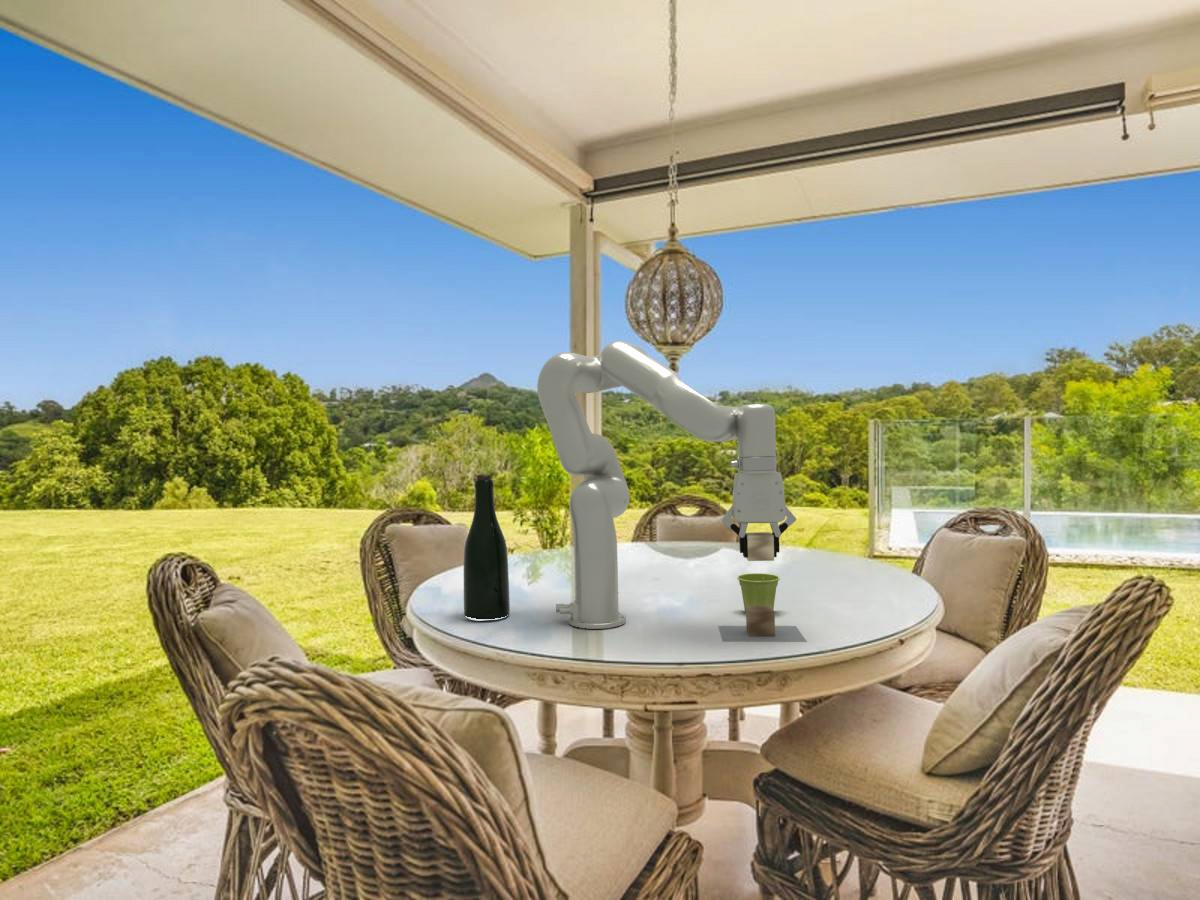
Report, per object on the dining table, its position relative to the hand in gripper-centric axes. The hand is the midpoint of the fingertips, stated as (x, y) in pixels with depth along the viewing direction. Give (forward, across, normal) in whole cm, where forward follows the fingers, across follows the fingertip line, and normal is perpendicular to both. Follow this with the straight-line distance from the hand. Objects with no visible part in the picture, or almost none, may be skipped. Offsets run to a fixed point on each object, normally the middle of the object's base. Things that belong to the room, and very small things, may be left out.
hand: (759, 555), depth 145 cm
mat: (+16, 0, 0) cm, 16 cm away
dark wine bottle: (+16, -60, +16) cm, 64 cm away
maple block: (+1, 0, 0) cm, 1 cm away
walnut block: (+16, 0, 0) cm, 16 cm away
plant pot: (+17, +2, +18) cm, 25 cm away
